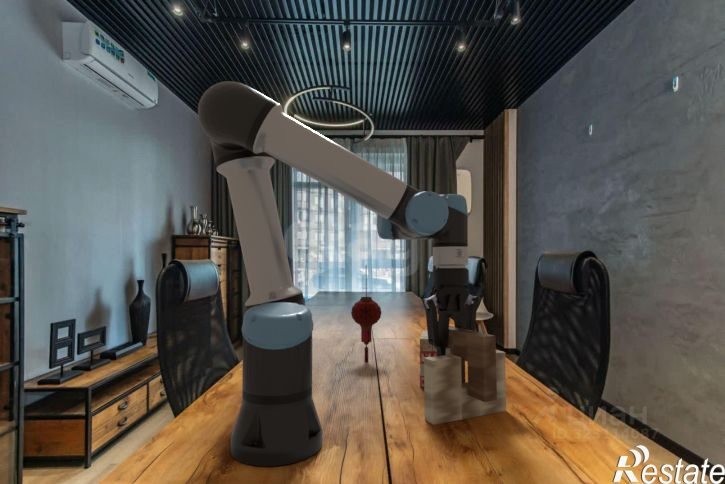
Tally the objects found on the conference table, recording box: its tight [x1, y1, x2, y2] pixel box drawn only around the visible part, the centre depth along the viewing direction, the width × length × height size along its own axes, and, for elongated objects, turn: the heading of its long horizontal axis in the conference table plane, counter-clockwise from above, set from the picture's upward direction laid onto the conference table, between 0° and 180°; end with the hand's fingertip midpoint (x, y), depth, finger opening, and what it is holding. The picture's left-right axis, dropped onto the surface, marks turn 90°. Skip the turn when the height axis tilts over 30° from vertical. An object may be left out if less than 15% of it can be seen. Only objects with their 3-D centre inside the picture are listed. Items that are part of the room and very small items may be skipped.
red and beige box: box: [419, 329, 437, 389], centre depth 115 cm, size 21×6×12 cm, turn 169°
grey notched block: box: [423, 349, 507, 426], centre depth 86 cm, size 18×3×12 cm, turn 115°
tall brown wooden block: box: [446, 325, 497, 402], centre depth 86 cm, size 3×14×12 cm, turn 25°
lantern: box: [350, 264, 382, 363], centre depth 132 cm, size 10×10×30 cm
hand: (452, 377), depth 90 cm, fingers closed on tall brown wooden block, 3 cm apart
